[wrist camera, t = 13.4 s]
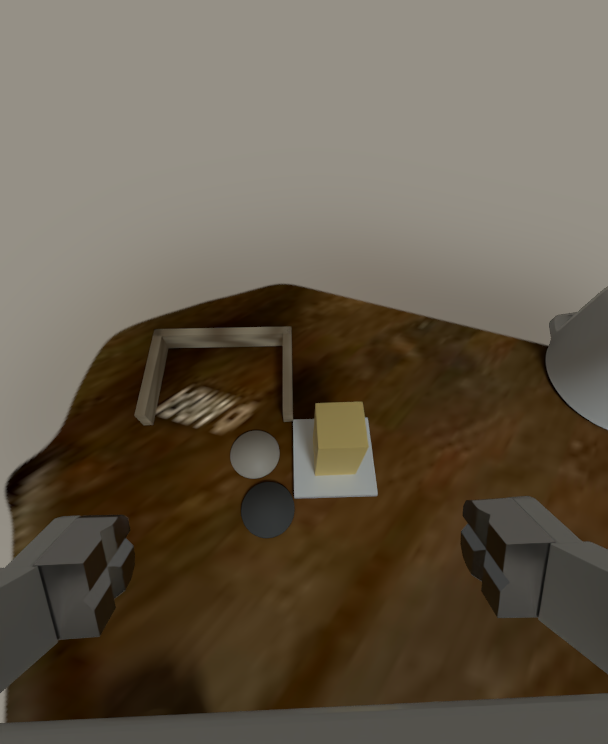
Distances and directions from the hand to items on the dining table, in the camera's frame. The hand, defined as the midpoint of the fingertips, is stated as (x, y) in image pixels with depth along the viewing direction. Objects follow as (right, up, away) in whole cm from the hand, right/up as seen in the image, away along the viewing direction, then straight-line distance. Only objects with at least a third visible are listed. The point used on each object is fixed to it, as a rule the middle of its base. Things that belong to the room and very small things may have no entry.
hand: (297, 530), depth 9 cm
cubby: (-9, +3, +32) cm, 34 cm away
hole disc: (-3, -9, +25) cm, 27 cm away
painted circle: (-5, -5, +28) cm, 29 cm away
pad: (+3, -5, +28) cm, 29 cm away
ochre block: (+3, -5, +28) cm, 28 cm away
